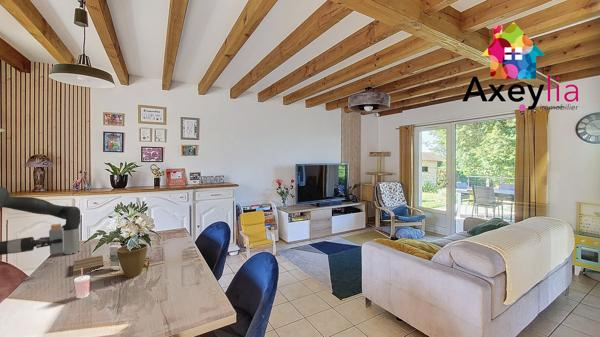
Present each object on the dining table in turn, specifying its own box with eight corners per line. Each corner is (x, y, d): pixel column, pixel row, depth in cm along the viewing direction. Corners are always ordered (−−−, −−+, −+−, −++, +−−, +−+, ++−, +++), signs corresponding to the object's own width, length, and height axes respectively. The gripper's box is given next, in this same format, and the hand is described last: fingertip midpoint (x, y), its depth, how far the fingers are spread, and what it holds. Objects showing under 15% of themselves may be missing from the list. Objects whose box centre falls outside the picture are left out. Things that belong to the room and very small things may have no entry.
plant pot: (154, 270, 155) (153, 244, 154) (132, 282, 141) (131, 253, 140) (134, 268, 159) (133, 242, 158) (110, 279, 145) (109, 250, 144)
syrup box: (126, 266, 161) (125, 243, 161) (118, 270, 155) (118, 246, 155) (117, 266, 162) (117, 243, 161) (110, 270, 156) (109, 246, 155)
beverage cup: (77, 294, 128) (76, 266, 128) (93, 292, 131) (91, 264, 130) (72, 300, 123) (70, 271, 122) (88, 298, 125) (86, 269, 124)
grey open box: (51, 251, 152) (50, 229, 151) (64, 249, 156) (63, 227, 155) (50, 254, 148) (49, 231, 147) (63, 252, 151) (62, 229, 151)
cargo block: (52, 231, 151) (51, 224, 151) (61, 230, 154) (61, 223, 154) (51, 233, 148) (50, 226, 148) (60, 231, 151) (60, 224, 151)
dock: (74, 265, 164) (74, 260, 164) (102, 259, 173) (102, 254, 173) (73, 276, 149) (72, 270, 148) (103, 269, 157) (103, 264, 157)
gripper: (17, 241, 137) (61, 235, 147) (23, 235, 148) (63, 230, 158) (18, 255, 137) (62, 248, 147) (24, 248, 148) (64, 242, 159)
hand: (62, 239), depth 153 cm, fingers closed on grey open box, 5 cm apart
